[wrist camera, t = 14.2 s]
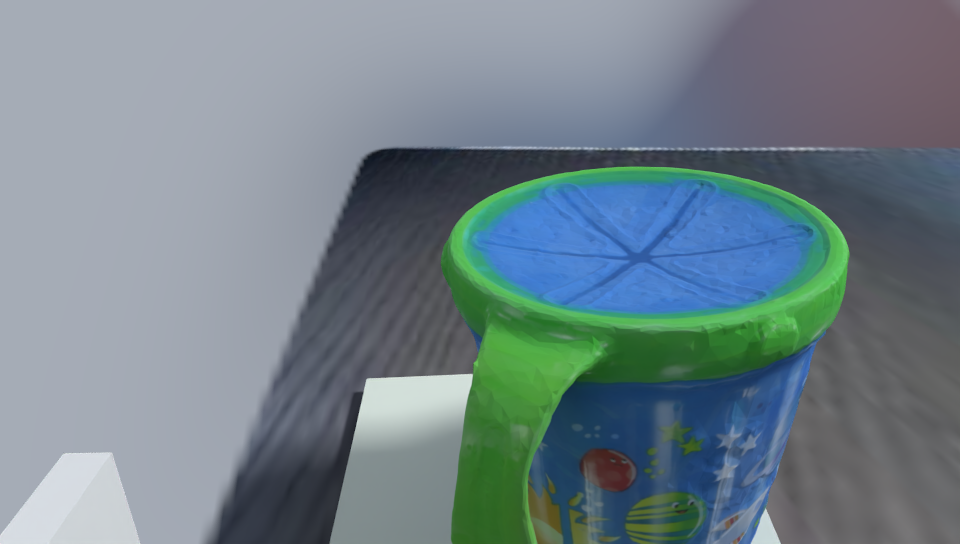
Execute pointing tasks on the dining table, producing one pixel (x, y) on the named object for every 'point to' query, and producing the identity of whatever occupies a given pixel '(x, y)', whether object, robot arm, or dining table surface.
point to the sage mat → (413, 464)
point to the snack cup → (634, 353)
